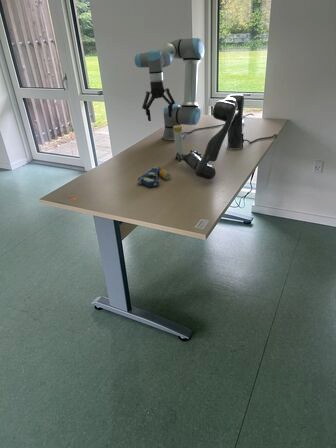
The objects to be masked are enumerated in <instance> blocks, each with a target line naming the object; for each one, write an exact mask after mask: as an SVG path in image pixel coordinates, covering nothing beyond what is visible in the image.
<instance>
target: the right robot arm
mask: <svg viewBox="0 0 336 448" xmlns="http://www.w3.org/2000/svg"><path fill="white" fill-rule="evenodd" d="M244 105H245V96H244V94H242V93H241V94H229V95H227V96H226V97H225V98H224V99H222V100H218V101H216V103H215V104H214V106H213V108H212V117H213V119H216V120H218V121H221V122H224V123H223V124H224V125H222V128H221V129H220V130H219V131H218V132H216V134H215V135H213V136H212V137H211V138H210V139H209V141H208V142H207V144H206V147H205V150H204V153H203V156H202V153H201V152H200V151H199V150H196V151H195V150H192V149H190V152H189V153H183V154H180V153H179V152H177V153H176V154H177V155H176V154H175V160H176V161H177V162H178V163H181V162H182V161H184V162H185V164H186V165H187V166H188V167H189V168H190V169H192V170H193V171H194V172H195V175H196V176H197V177H199V178H202V179H205V180H209V181H210V180H213V179H214V178H215V177H216V174H217V173H216V172H217V171H216V168H215V167H214V166H213V165H212V164H209V163H210V162H216V161H217V160H218V157H219V155H220V151H221V149H222V148H221V147H222V145H223V143H224V140H225V139H226V136H227V146H226V147H227V149H228V150H229V151H230V150H231V151H237V150H241V149H243V148H244V143H245V142H247V143H249V144H253V143H255V142H257V141H260V140H264V139H266V140H267V139H272V138H274V137H277V136H278V135H277V134H276V133H274V134H273V135H271V136H266V137H265V136H264V137H259V138H256V139H254V140H252V141H250V140H248V139H245V137H244V134H245V133H244V132H243V128H244V127H243V123H244V122H243V120H244V117H243V116H244ZM180 156H181V157H180Z"/></svg>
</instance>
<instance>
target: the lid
mask: <svg viewBox="0 0 336 448" xmlns="http://www.w3.org/2000/svg"><path fill="white" fill-rule="evenodd" d="M173 131H182V132H183V125H182V124H181V125H175V126H173Z"/></svg>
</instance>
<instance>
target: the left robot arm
mask: <svg viewBox="0 0 336 448" xmlns="http://www.w3.org/2000/svg"><path fill="white" fill-rule="evenodd" d="M204 55H205V46H204V42H203V40H202V39H201V38H199V37H192V38H191V37H189V38H179V39H178V38H177V39H174V40H173V41H170V42H167V43H165V44H164V45H163V46H160V47H158V48H154V49H152V50H148V51H146V52H143V53H141V52H140V53H136V54H135V56H134V65H135V66H136V67H137V68H142V69H143V68H148V72H149V73H148V75H149V81H150V82H149V85H150V91H147V90H146V91H145V97H144V100H143V103H142V107H141V109H143V110H145V115H146V116H147V121H148V122H152V117H151V109H150V108H151V105H152V104H153V102H154V101H155V100H156V99H161V98H162V99H163V100H164V101H165V102H166V103H167V104H168V105H166V106H165V107H164V108H163V122H164V130H163V135H162V139H163V140H164V141H167V142H175V140H174V131H173V126H175V125H181V126H184V125H185V126H196V125H197V124H198V123H199V122H200V120H201V116H202V111H201V108H200V107H199V104H198V103H197V95H198V94H197V93H198V92H197V91H198V73H199V72H198V70H199V64H200V63H201V60H202V59H203V58H204ZM174 59H176V60H179V59H181V60H182V62H183V63H184V80H183V81H184V82H183V83H184V85H183V90H184V91H183V102H182V103H181V105H180V104H176V102H175V100H174V98H173V96H172V94H171V92H170V89H169V88H168V87H166V88H165V86H164V73H163V68H165V67H169V66H171V65H172V64H173V60H174ZM165 93H166V95H165ZM167 97H168V98H167ZM250 115H251V116H254V114H253V113H247V114H245V115H243V118H245V117H248V116H250ZM224 124H225V123H222V124H218V125H212V126H205V127H198V128H194V129H192V130H191V131H187V132H186V131H184V132H183V131H182V139H184V137H185V136H184V134H191V133H193V132H194V131H197V130H204V129H209V128H217V127H221V126H222V127H223V126H224Z"/></svg>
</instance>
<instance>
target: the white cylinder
mask: <svg viewBox="0 0 336 448" xmlns="http://www.w3.org/2000/svg"><path fill="white" fill-rule="evenodd" d="M182 132H183V130H182V131H174V140H175V141H174V152H175V156H176V155H177V154H176V153H177V152H179V153H180V154H184V143H183V138H182ZM180 157H181V156H180Z"/></svg>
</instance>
